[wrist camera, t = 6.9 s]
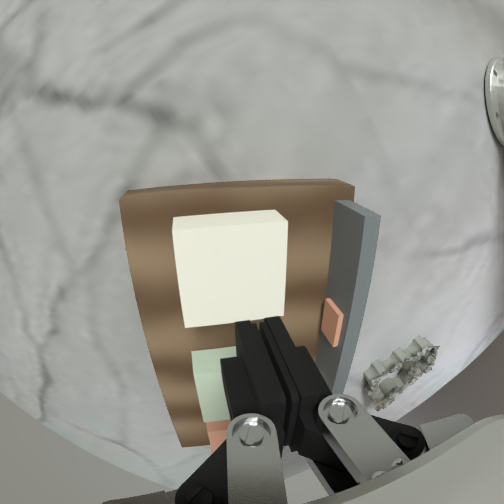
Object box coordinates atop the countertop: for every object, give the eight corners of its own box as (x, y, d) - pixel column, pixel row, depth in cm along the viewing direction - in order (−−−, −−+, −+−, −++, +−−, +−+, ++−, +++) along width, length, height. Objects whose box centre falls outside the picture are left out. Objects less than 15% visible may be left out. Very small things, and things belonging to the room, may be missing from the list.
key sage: (191, 351, 21) (193, 374, 18) (271, 340, 22) (280, 362, 20) (201, 401, 23) (203, 422, 21) (269, 391, 24) (276, 411, 22)
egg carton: (361, 394, 36) (374, 414, 33) (361, 361, 33) (377, 383, 30) (421, 362, 37) (435, 379, 34) (427, 327, 34) (445, 345, 30)
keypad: (127, 190, 20) (103, 217, 14) (335, 178, 23) (387, 199, 17) (180, 427, 31) (185, 475, 25) (306, 407, 34) (325, 449, 28)
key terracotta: (204, 413, 26) (207, 432, 24) (264, 404, 27) (270, 422, 25) (210, 441, 28) (213, 458, 26) (262, 433, 29) (268, 449, 27)
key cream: (173, 217, 17) (172, 230, 15) (275, 209, 18) (288, 221, 16) (184, 306, 19) (185, 328, 17) (272, 296, 20) (283, 315, 18)
